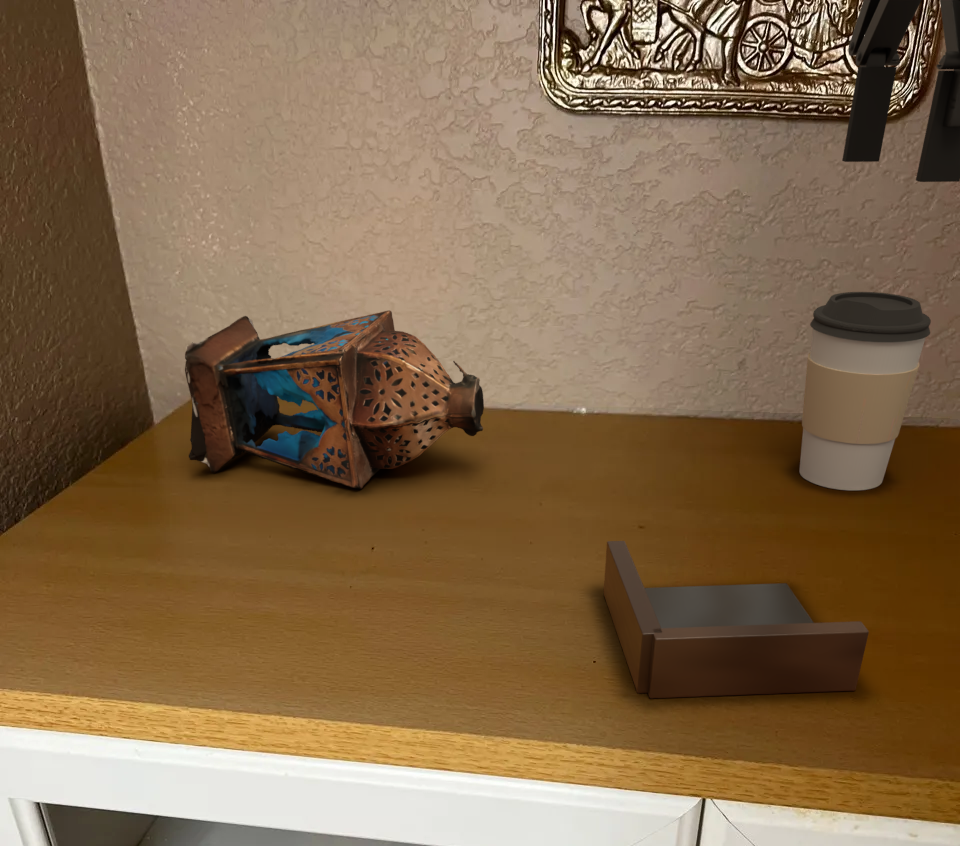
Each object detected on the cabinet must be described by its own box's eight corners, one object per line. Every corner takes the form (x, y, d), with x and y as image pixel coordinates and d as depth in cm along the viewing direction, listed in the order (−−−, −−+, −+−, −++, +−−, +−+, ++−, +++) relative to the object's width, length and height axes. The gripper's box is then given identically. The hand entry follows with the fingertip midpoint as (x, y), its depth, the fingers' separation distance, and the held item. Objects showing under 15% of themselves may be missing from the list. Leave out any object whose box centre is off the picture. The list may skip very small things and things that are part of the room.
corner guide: (785, 588, 67) (794, 535, 65) (856, 691, 56) (869, 631, 54) (603, 594, 67) (606, 540, 65) (639, 699, 56) (644, 639, 54)
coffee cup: (819, 449, 90) (850, 278, 82) (914, 474, 85) (957, 294, 77) (766, 475, 85) (793, 295, 77) (864, 504, 79) (905, 314, 71)
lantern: (233, 520, 93) (488, 532, 87) (143, 431, 78) (444, 439, 72) (269, 372, 98) (514, 374, 92) (191, 261, 83) (477, 255, 77)
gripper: (838, -167, 72) (791, 155, 83) (1014, -257, 51) (919, 192, 62) (938, -166, 72) (878, 154, 83) (1155, -256, 51) (1036, 191, 62)
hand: (895, 171), depth 72 cm, fingers open, 13 cm apart
